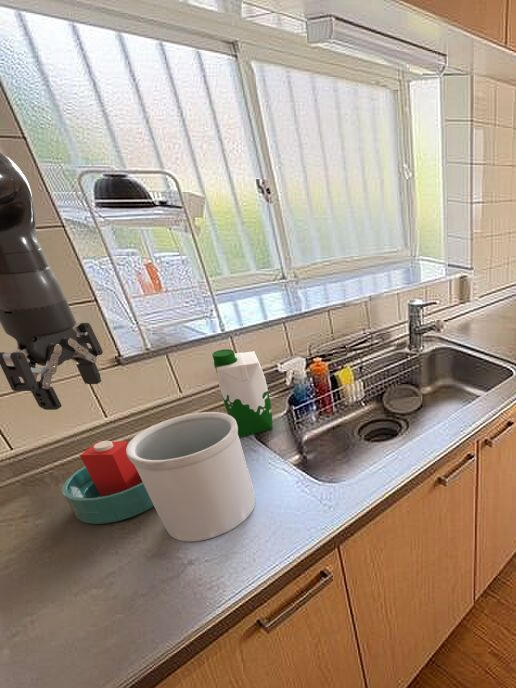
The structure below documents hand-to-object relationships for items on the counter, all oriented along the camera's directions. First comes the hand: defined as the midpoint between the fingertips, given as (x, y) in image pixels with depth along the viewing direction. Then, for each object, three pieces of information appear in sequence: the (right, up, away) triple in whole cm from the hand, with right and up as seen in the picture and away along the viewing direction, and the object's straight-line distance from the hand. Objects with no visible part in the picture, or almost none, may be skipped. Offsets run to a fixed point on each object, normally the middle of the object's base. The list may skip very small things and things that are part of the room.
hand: (74, 395), depth 69 cm
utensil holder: (+17, -22, +8) cm, 29 cm away
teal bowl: (0, -20, +10) cm, 22 cm away
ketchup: (0, -19, +10) cm, 22 cm away
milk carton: (+10, -9, +33) cm, 35 cm away
